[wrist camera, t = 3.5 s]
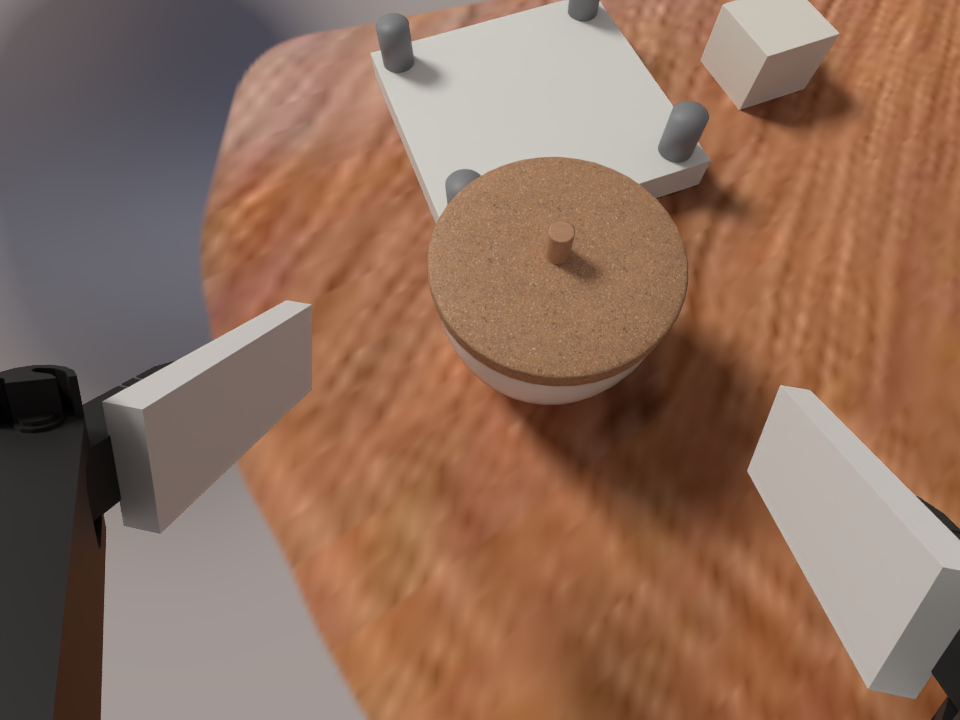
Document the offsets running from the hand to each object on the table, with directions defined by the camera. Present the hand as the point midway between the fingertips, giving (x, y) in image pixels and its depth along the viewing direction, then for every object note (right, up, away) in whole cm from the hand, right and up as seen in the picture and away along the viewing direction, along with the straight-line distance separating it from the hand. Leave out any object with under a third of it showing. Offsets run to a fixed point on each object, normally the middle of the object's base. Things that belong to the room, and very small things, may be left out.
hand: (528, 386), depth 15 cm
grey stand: (+2, +16, +19) cm, 25 cm away
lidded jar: (+2, +2, +14) cm, 14 cm away
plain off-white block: (+17, +20, +21) cm, 34 cm away
